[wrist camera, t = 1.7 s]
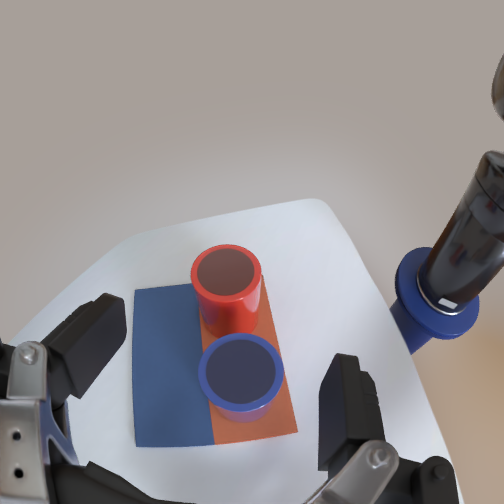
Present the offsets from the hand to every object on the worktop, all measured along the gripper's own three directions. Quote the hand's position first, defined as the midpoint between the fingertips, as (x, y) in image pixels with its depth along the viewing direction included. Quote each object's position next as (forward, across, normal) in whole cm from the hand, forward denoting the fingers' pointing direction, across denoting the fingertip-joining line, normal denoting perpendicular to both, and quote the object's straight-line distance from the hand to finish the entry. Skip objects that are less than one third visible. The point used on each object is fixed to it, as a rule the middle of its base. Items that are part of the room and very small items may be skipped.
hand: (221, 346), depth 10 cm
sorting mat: (+14, +4, +15) cm, 21 cm away
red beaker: (+18, +2, +12) cm, 22 cm away
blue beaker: (+11, -1, +16) cm, 19 cm away
